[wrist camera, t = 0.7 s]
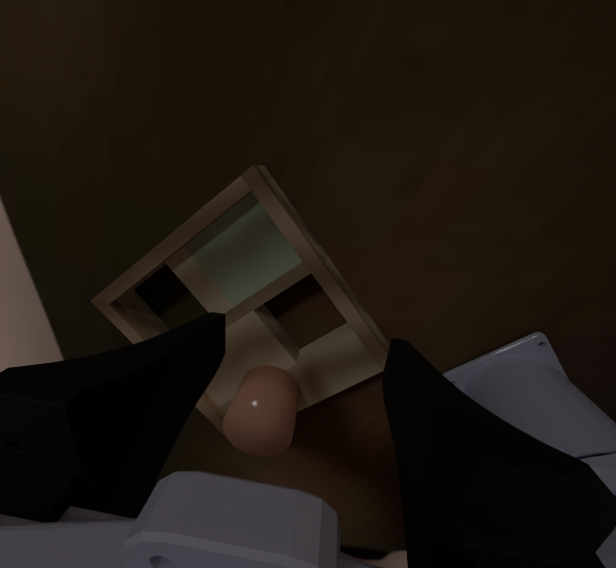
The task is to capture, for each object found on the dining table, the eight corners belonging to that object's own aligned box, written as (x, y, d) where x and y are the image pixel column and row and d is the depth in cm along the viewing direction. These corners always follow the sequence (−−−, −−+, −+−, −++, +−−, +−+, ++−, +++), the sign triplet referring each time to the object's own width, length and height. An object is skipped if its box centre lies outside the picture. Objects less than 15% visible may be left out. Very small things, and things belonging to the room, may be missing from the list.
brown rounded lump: (312, 399, 24) (307, 441, 20) (265, 421, 25) (252, 464, 22) (275, 355, 23) (262, 391, 19) (228, 381, 24) (208, 420, 20)
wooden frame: (392, 348, 24) (399, 370, 21) (245, 422, 28) (236, 447, 26) (264, 165, 20) (253, 165, 17) (117, 286, 24) (90, 300, 22)
